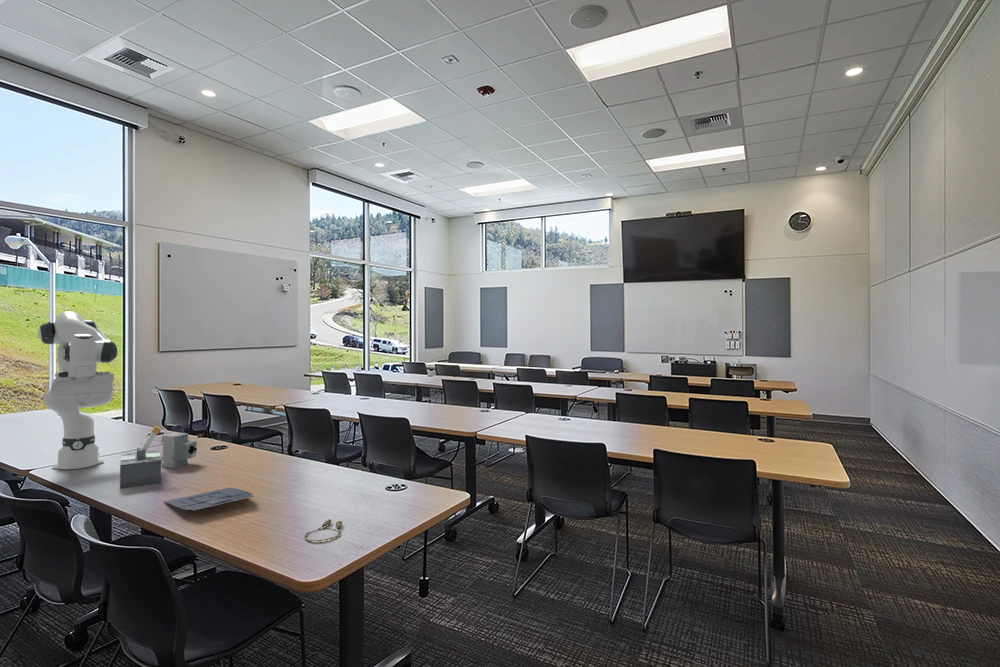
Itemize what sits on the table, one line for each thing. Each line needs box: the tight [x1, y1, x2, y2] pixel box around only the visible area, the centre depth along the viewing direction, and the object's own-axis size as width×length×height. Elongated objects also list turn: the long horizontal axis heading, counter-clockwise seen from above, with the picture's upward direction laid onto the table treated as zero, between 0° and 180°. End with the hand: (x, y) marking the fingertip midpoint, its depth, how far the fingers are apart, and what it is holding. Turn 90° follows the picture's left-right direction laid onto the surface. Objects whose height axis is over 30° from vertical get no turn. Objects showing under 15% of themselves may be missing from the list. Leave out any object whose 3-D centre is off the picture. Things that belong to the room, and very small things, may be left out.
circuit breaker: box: [160, 432, 198, 468], centre depth 241 cm, size 8×14×15 cm, turn 89°
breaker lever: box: [140, 425, 162, 452], centre depth 219 cm, size 3×3×14 cm
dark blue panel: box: [163, 487, 255, 511], centre depth 189 cm, size 24×30×4 cm
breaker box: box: [119, 447, 162, 490], centre depth 217 cm, size 22×14×14 cm, turn 37°
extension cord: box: [304, 518, 343, 542], centre depth 163 cm, size 12×16×2 cm
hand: (82, 404), depth 208 cm, fingers closed
